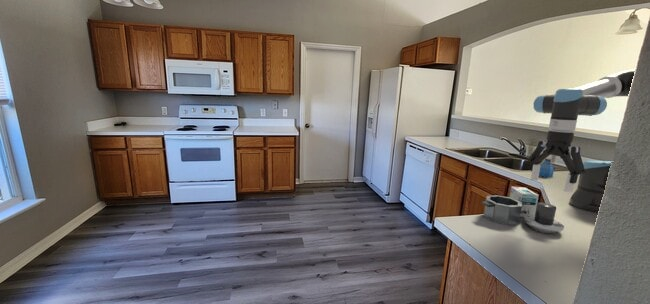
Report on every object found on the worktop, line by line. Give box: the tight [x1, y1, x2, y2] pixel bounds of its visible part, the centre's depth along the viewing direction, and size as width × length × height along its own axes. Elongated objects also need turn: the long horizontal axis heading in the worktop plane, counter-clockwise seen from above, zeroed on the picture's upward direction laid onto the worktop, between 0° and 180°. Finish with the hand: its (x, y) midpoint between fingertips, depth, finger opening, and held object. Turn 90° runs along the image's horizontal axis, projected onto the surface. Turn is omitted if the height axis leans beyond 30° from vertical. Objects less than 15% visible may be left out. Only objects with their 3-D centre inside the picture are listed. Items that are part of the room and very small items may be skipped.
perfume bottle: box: [539, 158, 555, 179], centre depth 185 cm, size 6×6×12 cm
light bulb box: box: [509, 186, 540, 218], centre depth 123 cm, size 11×7×11 cm, turn 169°
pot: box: [481, 194, 525, 226], centre depth 117 cm, size 18×13×8 cm
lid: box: [523, 202, 565, 235], centre depth 108 cm, size 12×12×10 cm
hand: (550, 185), depth 105 cm, fingers open, 13 cm apart
